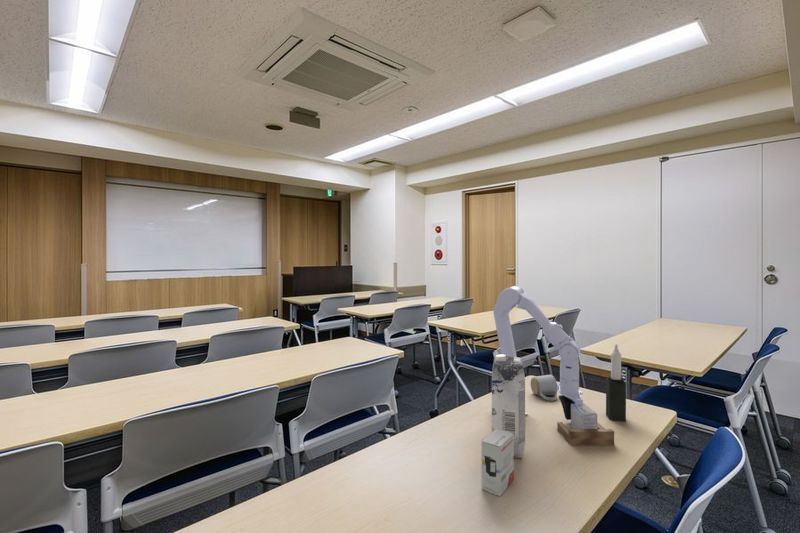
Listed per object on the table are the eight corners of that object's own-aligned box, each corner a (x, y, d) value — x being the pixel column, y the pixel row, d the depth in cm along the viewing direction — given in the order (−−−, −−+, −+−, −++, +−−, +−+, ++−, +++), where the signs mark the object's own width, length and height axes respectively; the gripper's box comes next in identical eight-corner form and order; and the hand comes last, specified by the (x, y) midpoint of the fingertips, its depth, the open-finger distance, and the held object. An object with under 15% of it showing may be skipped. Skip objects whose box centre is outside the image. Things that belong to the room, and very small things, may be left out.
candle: (627, 421, 123) (627, 346, 122) (610, 420, 124) (610, 345, 123) (621, 415, 128) (621, 342, 127) (604, 413, 129) (605, 342, 128)
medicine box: (598, 442, 109) (598, 413, 109) (583, 442, 109) (583, 413, 109) (584, 430, 117) (584, 402, 117) (570, 430, 117) (570, 403, 117)
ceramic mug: (529, 391, 150) (529, 373, 150) (548, 390, 151) (548, 372, 151) (542, 402, 140) (542, 382, 139) (562, 401, 141) (562, 381, 140)
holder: (570, 445, 108) (571, 431, 108) (557, 429, 117) (557, 417, 117) (614, 445, 108) (614, 431, 108) (597, 429, 117) (597, 417, 117)
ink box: (496, 472, 95) (496, 426, 95) (514, 479, 92) (514, 432, 92) (480, 489, 88) (480, 440, 88) (500, 497, 85) (499, 446, 85)
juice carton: (523, 442, 110) (523, 351, 109) (525, 461, 100) (525, 361, 99) (492, 438, 112) (492, 349, 111) (491, 457, 102) (491, 359, 101)
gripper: (592, 385, 115) (592, 429, 115) (571, 371, 130) (571, 409, 130) (569, 385, 115) (569, 429, 116) (551, 371, 130) (551, 409, 130)
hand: (569, 418), depth 123 cm, fingers closed
